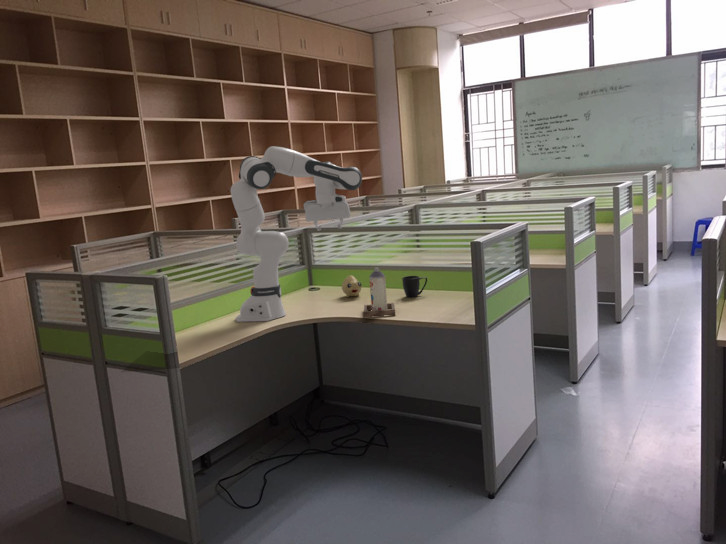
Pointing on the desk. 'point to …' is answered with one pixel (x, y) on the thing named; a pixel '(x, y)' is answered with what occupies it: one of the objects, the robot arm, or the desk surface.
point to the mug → (412, 286)
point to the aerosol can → (378, 290)
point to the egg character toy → (351, 286)
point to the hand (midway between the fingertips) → (329, 229)
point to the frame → (379, 311)
